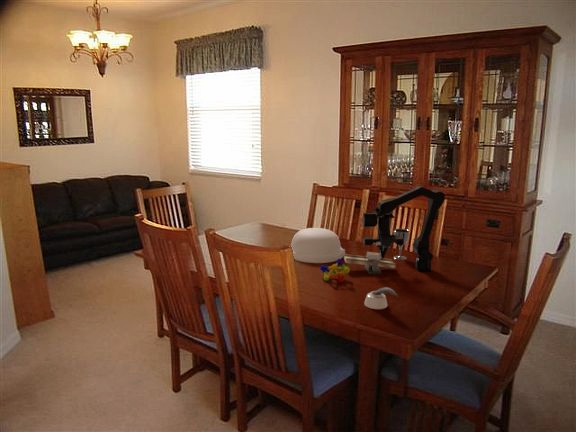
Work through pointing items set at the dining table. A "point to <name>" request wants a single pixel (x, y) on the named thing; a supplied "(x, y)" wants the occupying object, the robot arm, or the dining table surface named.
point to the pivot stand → (373, 268)
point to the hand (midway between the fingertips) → (382, 258)
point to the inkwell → (378, 298)
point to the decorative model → (335, 271)
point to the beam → (368, 261)
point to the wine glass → (404, 235)
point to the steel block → (373, 256)
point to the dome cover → (316, 246)
